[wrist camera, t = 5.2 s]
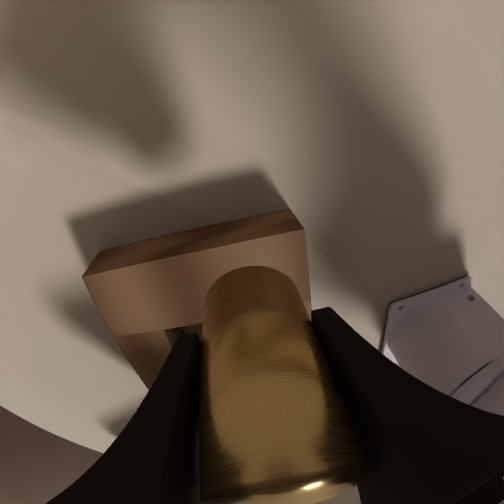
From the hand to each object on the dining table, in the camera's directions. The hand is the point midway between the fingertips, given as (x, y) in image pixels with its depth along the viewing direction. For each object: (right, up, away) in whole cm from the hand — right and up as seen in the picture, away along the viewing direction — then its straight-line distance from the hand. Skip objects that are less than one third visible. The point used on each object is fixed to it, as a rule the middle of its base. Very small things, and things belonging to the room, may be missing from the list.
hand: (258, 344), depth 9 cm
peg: (0, +1, +1) cm, 2 cm away
